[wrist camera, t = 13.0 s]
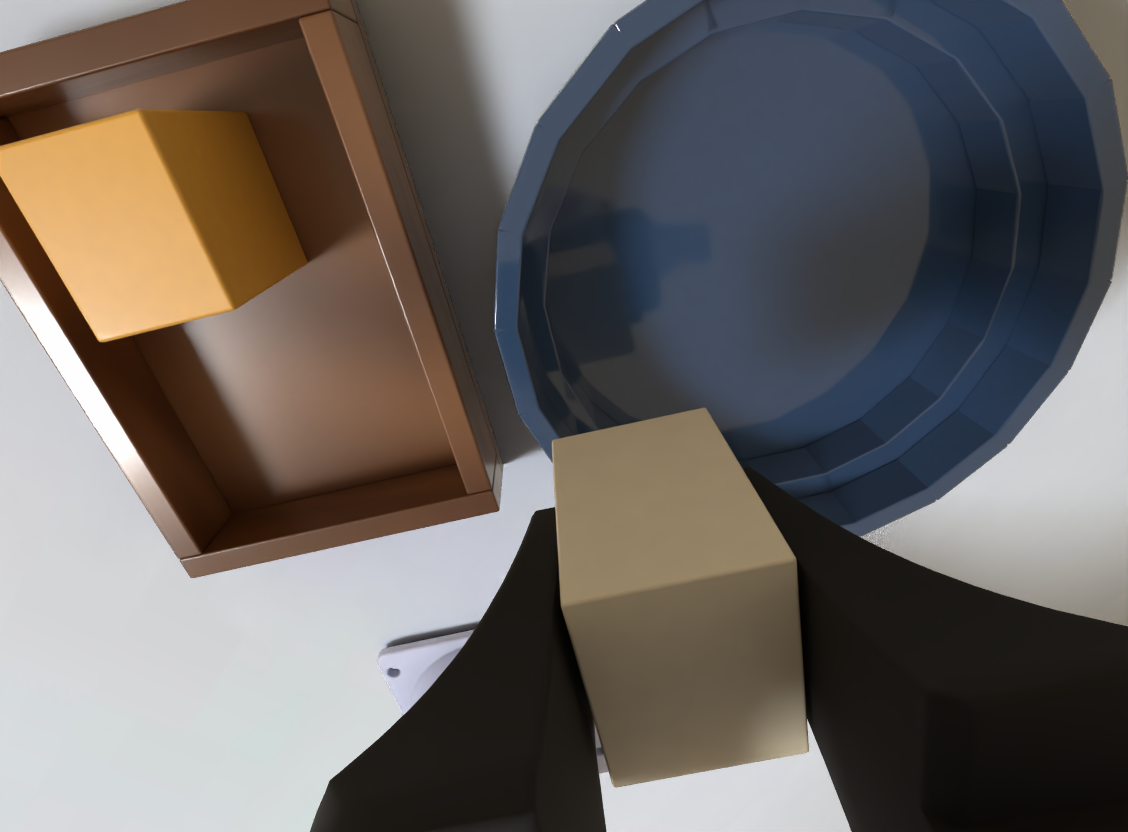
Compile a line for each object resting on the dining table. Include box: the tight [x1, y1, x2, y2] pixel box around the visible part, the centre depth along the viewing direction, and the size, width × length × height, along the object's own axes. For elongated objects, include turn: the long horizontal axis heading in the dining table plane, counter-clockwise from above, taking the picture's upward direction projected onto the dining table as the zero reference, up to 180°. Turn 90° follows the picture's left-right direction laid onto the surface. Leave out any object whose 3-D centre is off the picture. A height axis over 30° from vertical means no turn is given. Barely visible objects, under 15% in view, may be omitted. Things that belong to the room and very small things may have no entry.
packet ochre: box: [0, 109, 307, 342], centre depth 15 cm, size 4×3×5 cm
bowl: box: [494, 0, 1128, 537], centre depth 17 cm, size 15×15×4 cm
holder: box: [0, 0, 503, 578], centre depth 17 cm, size 14×10×3 cm
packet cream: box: [552, 408, 809, 787], centre depth 11 cm, size 4×3×5 cm
